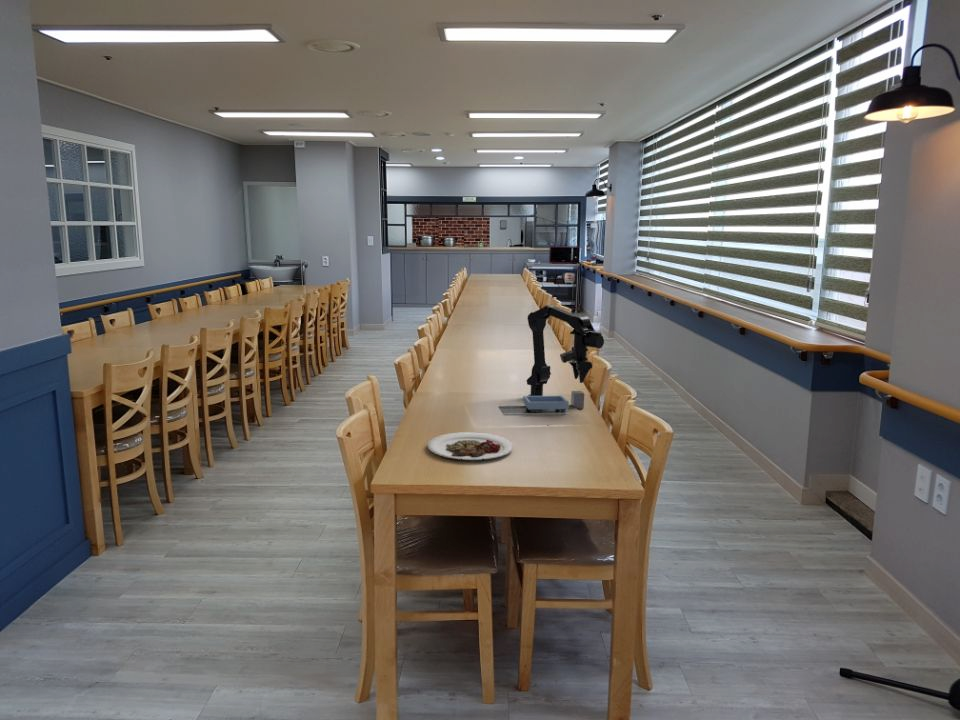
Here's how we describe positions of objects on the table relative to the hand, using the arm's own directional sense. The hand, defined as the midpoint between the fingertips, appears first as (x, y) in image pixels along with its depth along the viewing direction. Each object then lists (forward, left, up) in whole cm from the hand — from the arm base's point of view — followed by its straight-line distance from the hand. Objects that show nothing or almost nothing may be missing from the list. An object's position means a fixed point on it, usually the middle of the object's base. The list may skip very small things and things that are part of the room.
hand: (578, 380), depth 300 cm
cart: (+7, -16, -11) cm, 21 cm away
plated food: (+54, -54, -12) cm, 77 cm away
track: (+7, -21, -12) cm, 26 cm away
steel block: (0, 0, -12) cm, 12 cm away
